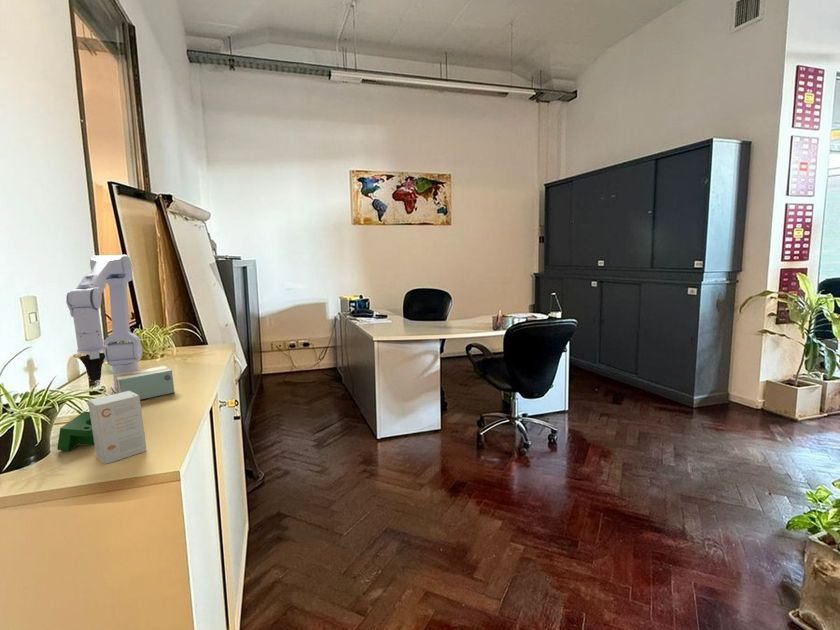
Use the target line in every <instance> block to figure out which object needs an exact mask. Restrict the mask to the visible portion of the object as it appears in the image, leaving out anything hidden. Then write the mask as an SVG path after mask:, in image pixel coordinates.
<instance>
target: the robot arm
mask: <svg viewBox="0 0 840 630" xmlns="http://www.w3.org/2000/svg"><path fill="white" fill-rule="evenodd" d="M89 261H90V262H89V266H90V269H91V272H90V274H88V273H87V274H86V275H85V276H84V277H83V278H82V279H81V281H80V282H79V284H78V285H77V287H76V288H74V289H71V290H70V291H68V292H67V293H66V305H67V308H68V311H69V313H70V315H69V316H70V317H71V318H73V324H74V330H75V338H76V345H77V349H76V352H77V354H84V355H80V356H79V357H78V358H79V360H80V362H82V364H83V365H84V367H85V369H86V373H87V376H88V378H89V380H90V381H91V382H96V381H101V379H102V378H101V377H102V367H103V363H104V361H105V362H107V363H109V366H110V365H111V369H112V370H111V371H112V377H113V378H112V379H113V385H111V389H112V390H113V392H114V394H117V392H116V384H115V377H114V374H119V373H125V372H131V371H137V370H140V369H139V362H138V361H140V360H141V359H142V357H143V345H142V344H141V342H142V341H141V338H140V337H139V336H138V335H136V334H135V333H132V332H131V330H130V315H129V301H128V283H129V282H131V281H132V280H133V266H132V262H131V257H129V255H127V254H117V255H115V254H114V255H112V254H111V255H95V254H94V255H92V256H91V258H90V260H89ZM107 285H108V289H109V290H108V291H109V303H110V314H111V315H110V317H111V318H110V319H111V330H112V334H110V335H109V336H107V337H106V338H105V339H103V332H102V326H101V325H102V324H101V318H100V310H99V309H100V308H101V307H102V306H101V305H102V299H103V295H102V294H103V292H104V291H105V289H106V288H107V287H106V286H107Z"/></svg>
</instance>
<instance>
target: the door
mask: <svg viewBox="0 0 840 630" xmlns="http://www.w3.org/2000/svg"><path fill="white" fill-rule="evenodd" d="M173 376H174V375H173V370H172V369H170V370H166V371H161V372H155V373H150V374H144V375H139V376H133V377H128V378H122V379H120V382H121V390H122V392H126V391H131V392H133V393H135V394H137V395H139V397H140V401H141V400H144V399H149V398H155V397H158V396H163V395H168V394H173V393H175V386H174V385H175V384H174V378H173Z"/></svg>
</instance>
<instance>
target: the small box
mask: <svg viewBox="0 0 840 630" xmlns="http://www.w3.org/2000/svg"><path fill="white" fill-rule="evenodd" d="M87 402H88V403H87V404H88V412H90V418H91V425H92V431H93V438H94V449H95V456H96V458H97V459H99V461H101V462H102V463H103V464H104V465H108V464H110V463H113V462H116V461H119V460H120V461H121V460H122V459H123V460H124V459H125V458H129V457H131V456H135V455H137V454H138V455H139V454H141V453H145V452H146V451H147V444H146V443H147V442H146V438H145V437H146V435H145V426H144V422H143V421H144V420H143V415H142V407H141V400H140V397H139V395H137V394H135V393H133V392H131V391H126V392H121V393H113V394H108V395H104V396H101V397H97V398H92V399H88V400H87Z"/></svg>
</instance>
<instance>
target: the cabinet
mask: <svg viewBox="0 0 840 630" xmlns="http://www.w3.org/2000/svg"><path fill="white" fill-rule="evenodd" d="M166 370H171V369H170V368H169V367H167V366H165V365H160V366H154V367H149V368H145V369H144V368H143V369H139V370H137V371H131V372H125V373H119V374H114V377H115V384H116V392H117V393H121V392H122V390H121V382H120V379H122V378H128V377H133V376H139V375H144V374H150V373H155V372H161V371H166ZM117 393H116V394H117Z"/></svg>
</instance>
